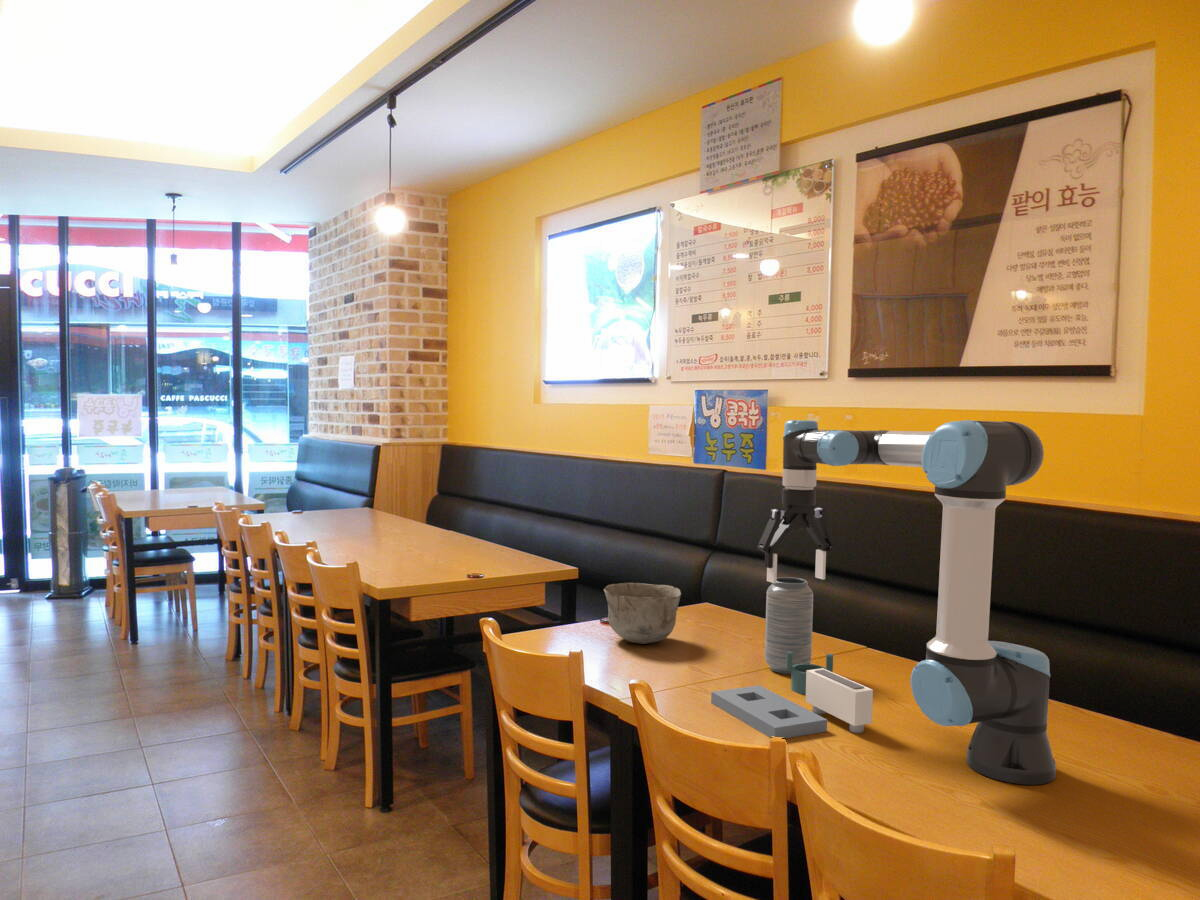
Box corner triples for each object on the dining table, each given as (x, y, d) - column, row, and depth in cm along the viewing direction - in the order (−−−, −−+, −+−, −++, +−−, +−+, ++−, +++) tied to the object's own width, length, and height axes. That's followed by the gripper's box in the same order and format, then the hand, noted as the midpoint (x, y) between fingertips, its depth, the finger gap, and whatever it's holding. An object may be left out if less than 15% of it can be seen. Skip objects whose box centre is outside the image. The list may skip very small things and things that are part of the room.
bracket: (835, 692, 207) (836, 654, 207) (806, 697, 203) (807, 659, 202) (808, 682, 215) (809, 645, 215) (779, 687, 210) (781, 650, 210)
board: (826, 731, 181) (827, 719, 181) (774, 740, 176) (775, 727, 176) (759, 696, 203) (759, 685, 203) (711, 702, 198) (711, 691, 198)
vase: (795, 661, 232) (798, 575, 231) (819, 674, 221) (822, 583, 220) (756, 664, 228) (758, 576, 227) (778, 677, 217) (781, 585, 216)
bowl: (607, 629, 261) (609, 579, 260) (681, 634, 258) (682, 583, 257) (597, 649, 239) (598, 595, 239) (677, 654, 236) (679, 599, 236)
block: (871, 732, 181) (873, 688, 181) (854, 735, 179) (855, 691, 179) (821, 708, 196) (822, 667, 195) (805, 710, 194) (806, 669, 193)
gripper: (832, 485, 209) (829, 574, 210) (743, 487, 199) (741, 580, 200) (853, 488, 202) (850, 579, 203) (763, 490, 192) (760, 586, 193)
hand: (796, 580), depth 201 cm, fingers open, 13 cm apart
